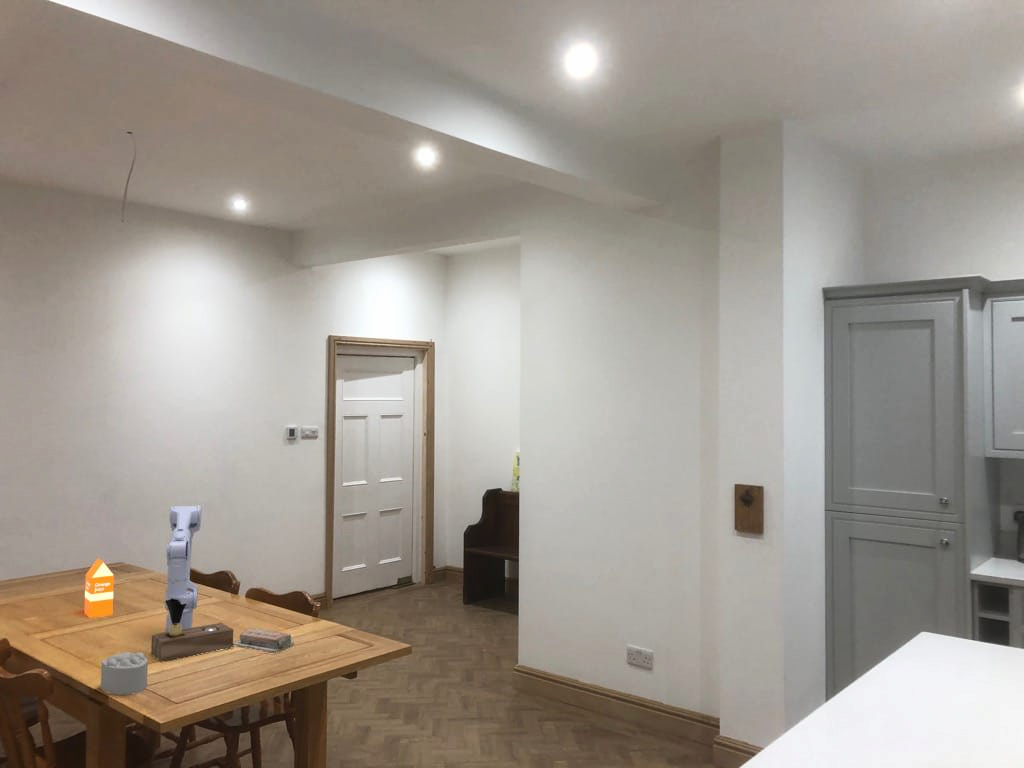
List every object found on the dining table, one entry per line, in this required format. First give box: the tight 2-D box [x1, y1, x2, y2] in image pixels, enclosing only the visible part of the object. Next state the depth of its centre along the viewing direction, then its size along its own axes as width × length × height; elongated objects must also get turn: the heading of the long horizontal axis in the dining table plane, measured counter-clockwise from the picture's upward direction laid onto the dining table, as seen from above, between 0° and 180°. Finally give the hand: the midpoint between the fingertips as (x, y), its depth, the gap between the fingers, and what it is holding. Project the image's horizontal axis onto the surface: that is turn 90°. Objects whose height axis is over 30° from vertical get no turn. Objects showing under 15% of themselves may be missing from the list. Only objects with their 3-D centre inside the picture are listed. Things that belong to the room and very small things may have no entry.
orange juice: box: [84, 558, 115, 619], centre depth 286 cm, size 8×9×20 cm
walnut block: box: [150, 622, 234, 662], centre depth 245 cm, size 10×22×6 cm, turn 132°
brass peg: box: [169, 623, 182, 638], centre depth 241 cm, size 4×4×6 cm
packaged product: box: [233, 627, 295, 654], centre depth 252 cm, size 18×5×10 cm
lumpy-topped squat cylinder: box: [100, 651, 149, 695], centre depth 212 cm, size 10×13×9 cm
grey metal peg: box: [205, 627, 216, 632], centre depth 248 cm, size 4×4×6 cm
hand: (175, 622), depth 241 cm, fingers closed
